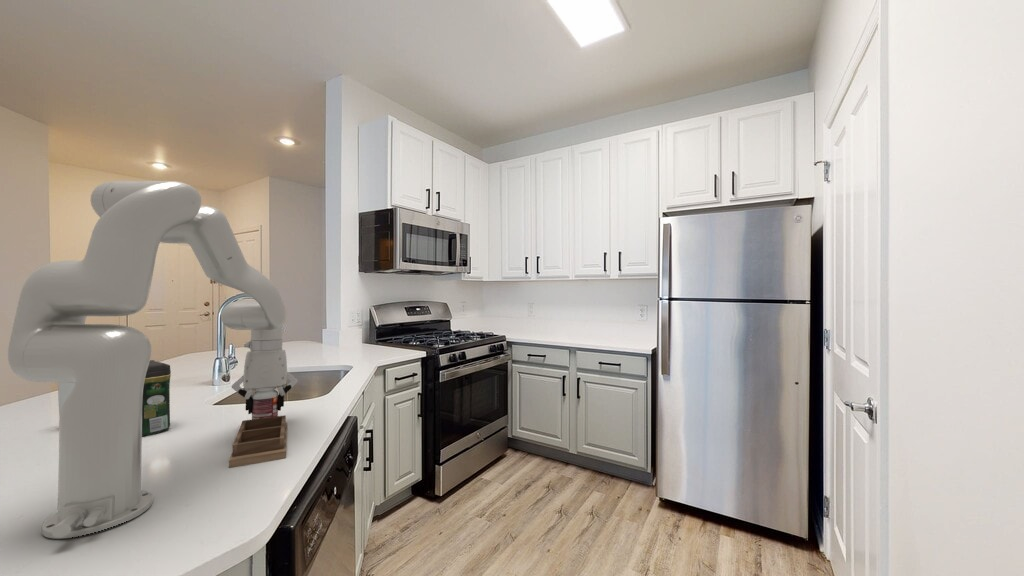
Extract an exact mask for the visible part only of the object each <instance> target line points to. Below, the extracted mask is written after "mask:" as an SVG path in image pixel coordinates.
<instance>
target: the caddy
mask: <svg viewBox="0 0 1024 576" xmlns="http://www.w3.org/2000/svg"><path fill="white" fill-rule="evenodd" d="M286 416H287V415H278V416H276V417H268V418H260V419H252V418H251V419H247V420H246V419H245V420H242V421H241V424H240V426H239V428H238V431H237V433H236V436H235V438H234V441H233V443H232V449H231V450H232V451H231V454H230V457H229V459H228V468H229V469H230V468H235V467H241V466H246V465H252V464H260V463H265V462H271V461H276V460H282V459H286V457H287V456H286V455H287V439H288V422H286V418H287V417H286Z"/></svg>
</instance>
